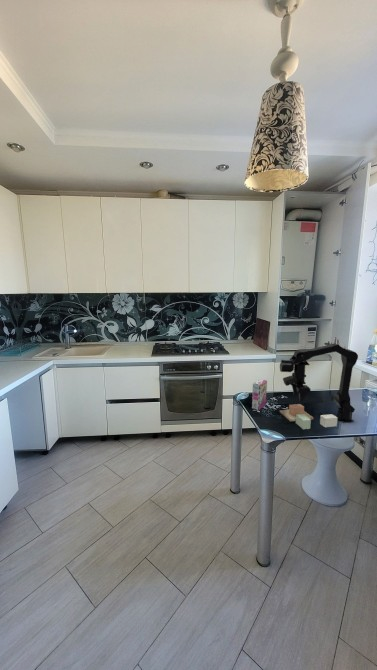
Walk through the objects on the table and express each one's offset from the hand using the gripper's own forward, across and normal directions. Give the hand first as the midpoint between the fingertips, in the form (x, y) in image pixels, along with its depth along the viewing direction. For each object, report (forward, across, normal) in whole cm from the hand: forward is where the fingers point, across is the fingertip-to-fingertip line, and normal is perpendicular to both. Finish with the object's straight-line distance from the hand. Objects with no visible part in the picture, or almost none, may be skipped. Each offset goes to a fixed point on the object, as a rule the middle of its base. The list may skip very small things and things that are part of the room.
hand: (297, 398), depth 147 cm
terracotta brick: (+10, -2, 0) cm, 10 cm away
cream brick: (+11, +9, +14) cm, 20 cm away
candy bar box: (+11, -13, -19) cm, 25 cm away
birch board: (+11, -2, 0) cm, 11 cm away
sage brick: (+11, +10, 0) cm, 15 cm away
